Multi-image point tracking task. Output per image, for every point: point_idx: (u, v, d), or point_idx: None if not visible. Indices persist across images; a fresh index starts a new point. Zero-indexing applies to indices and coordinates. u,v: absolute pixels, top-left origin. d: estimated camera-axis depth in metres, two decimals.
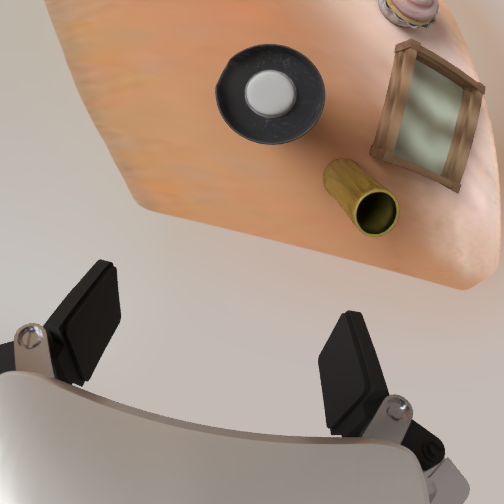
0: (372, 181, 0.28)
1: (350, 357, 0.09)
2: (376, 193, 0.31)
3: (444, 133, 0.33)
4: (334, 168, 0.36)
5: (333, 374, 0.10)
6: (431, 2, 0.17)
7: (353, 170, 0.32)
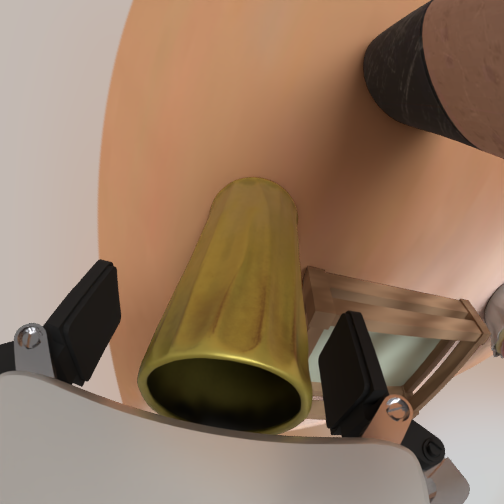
0: None
1: (350, 357, 0.09)
2: None
3: None
4: (283, 202, 0.17)
5: (333, 374, 0.10)
6: None
7: None
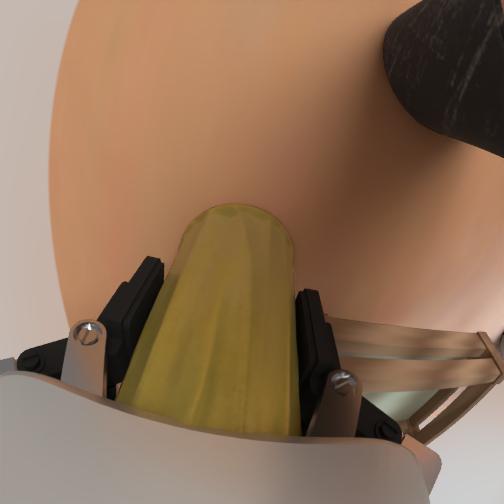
0: None
1: (301, 331, 0.09)
2: None
3: None
4: (274, 242, 0.12)
5: None
6: None
7: None
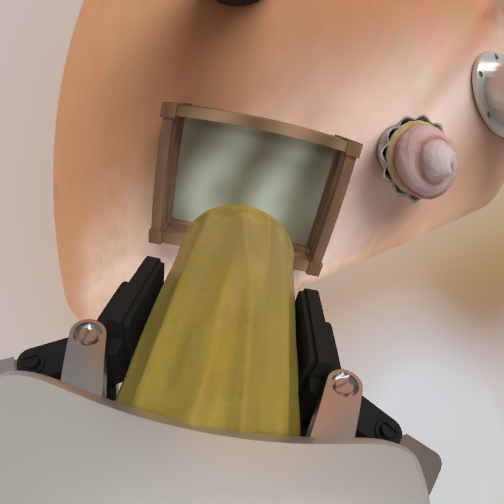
0: None
1: (301, 331, 0.09)
2: None
3: None
4: (274, 243, 0.12)
5: None
6: (430, 179, 0.20)
7: (295, 335, 0.09)
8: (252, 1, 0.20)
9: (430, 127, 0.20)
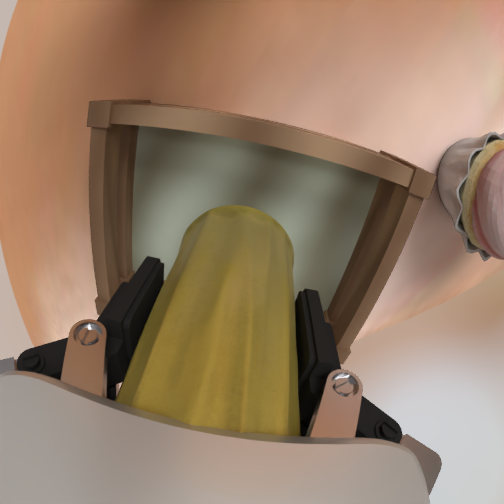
0: None
1: (301, 331, 0.09)
2: None
3: None
4: (274, 243, 0.12)
5: None
6: None
7: (295, 336, 0.09)
8: None
9: None
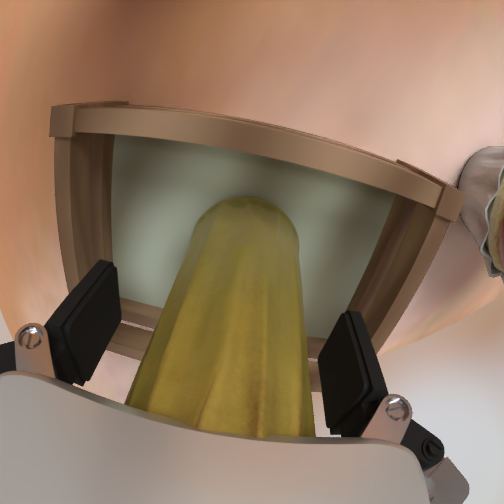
0: None
1: (349, 357, 0.09)
2: None
3: None
4: (282, 231, 0.13)
5: (332, 374, 0.10)
6: None
7: (303, 312, 0.10)
8: None
9: None
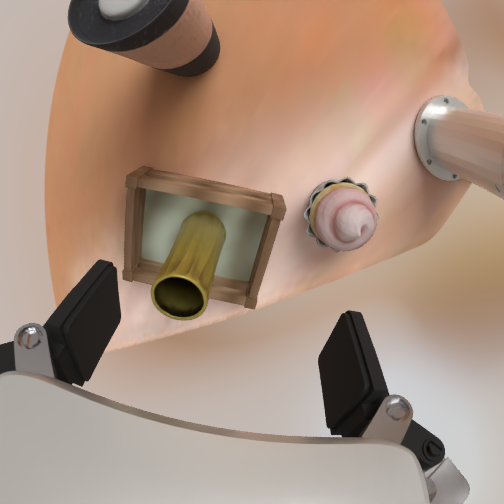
0: (211, 282, 0.27)
1: (350, 357, 0.09)
2: None
3: None
4: (215, 225, 0.34)
5: (333, 374, 0.10)
6: (342, 239, 0.28)
7: (217, 252, 0.31)
8: (201, 72, 0.27)
9: (348, 192, 0.28)
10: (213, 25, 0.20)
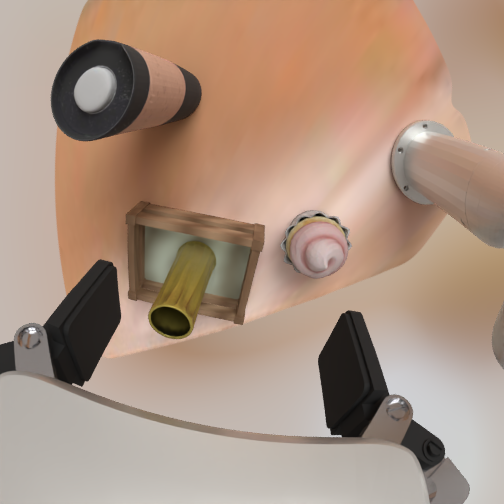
0: (198, 307, 0.32)
1: (350, 357, 0.09)
2: None
3: None
4: (204, 254, 0.39)
5: (333, 374, 0.10)
6: (312, 270, 0.33)
7: (205, 279, 0.36)
8: (185, 117, 0.32)
9: (318, 227, 0.32)
10: (188, 80, 0.24)
